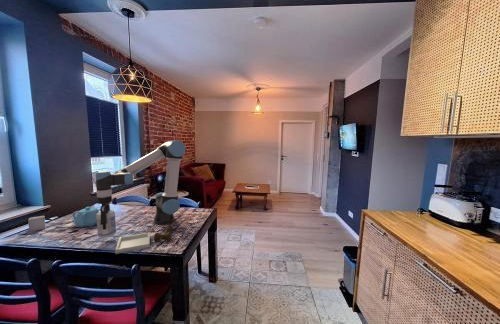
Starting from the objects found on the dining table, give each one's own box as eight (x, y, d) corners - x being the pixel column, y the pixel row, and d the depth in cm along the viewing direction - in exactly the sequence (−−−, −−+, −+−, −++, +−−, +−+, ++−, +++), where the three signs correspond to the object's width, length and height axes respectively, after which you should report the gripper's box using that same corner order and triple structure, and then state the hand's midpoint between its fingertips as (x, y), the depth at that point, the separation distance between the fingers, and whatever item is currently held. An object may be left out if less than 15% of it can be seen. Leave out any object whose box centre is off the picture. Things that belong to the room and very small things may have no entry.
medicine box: (45, 226, 147) (44, 215, 146) (45, 228, 144) (44, 217, 143) (29, 229, 141) (28, 218, 141) (29, 232, 138) (28, 219, 137)
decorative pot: (70, 225, 149) (69, 208, 148) (96, 219, 163) (95, 202, 162) (80, 231, 141) (78, 212, 140) (105, 223, 155) (105, 206, 153)
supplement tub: (116, 235, 126) (114, 213, 124) (97, 239, 121) (95, 216, 119) (116, 230, 134) (114, 208, 133) (98, 233, 129) (96, 211, 127)
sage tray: (149, 235, 135) (149, 232, 135) (149, 247, 120) (149, 243, 120) (119, 240, 128) (119, 237, 127) (115, 254, 112) (115, 249, 112)
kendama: (176, 232, 142) (167, 245, 123) (162, 233, 142) (151, 246, 122) (176, 224, 142) (167, 236, 122) (162, 224, 141) (150, 236, 121)
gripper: (101, 192, 133) (103, 225, 135) (92, 201, 113) (95, 239, 115) (114, 191, 136) (116, 223, 139) (108, 200, 117) (110, 236, 119)
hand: (106, 230), depth 127 cm, fingers closed on supplement tub, 10 cm apart
